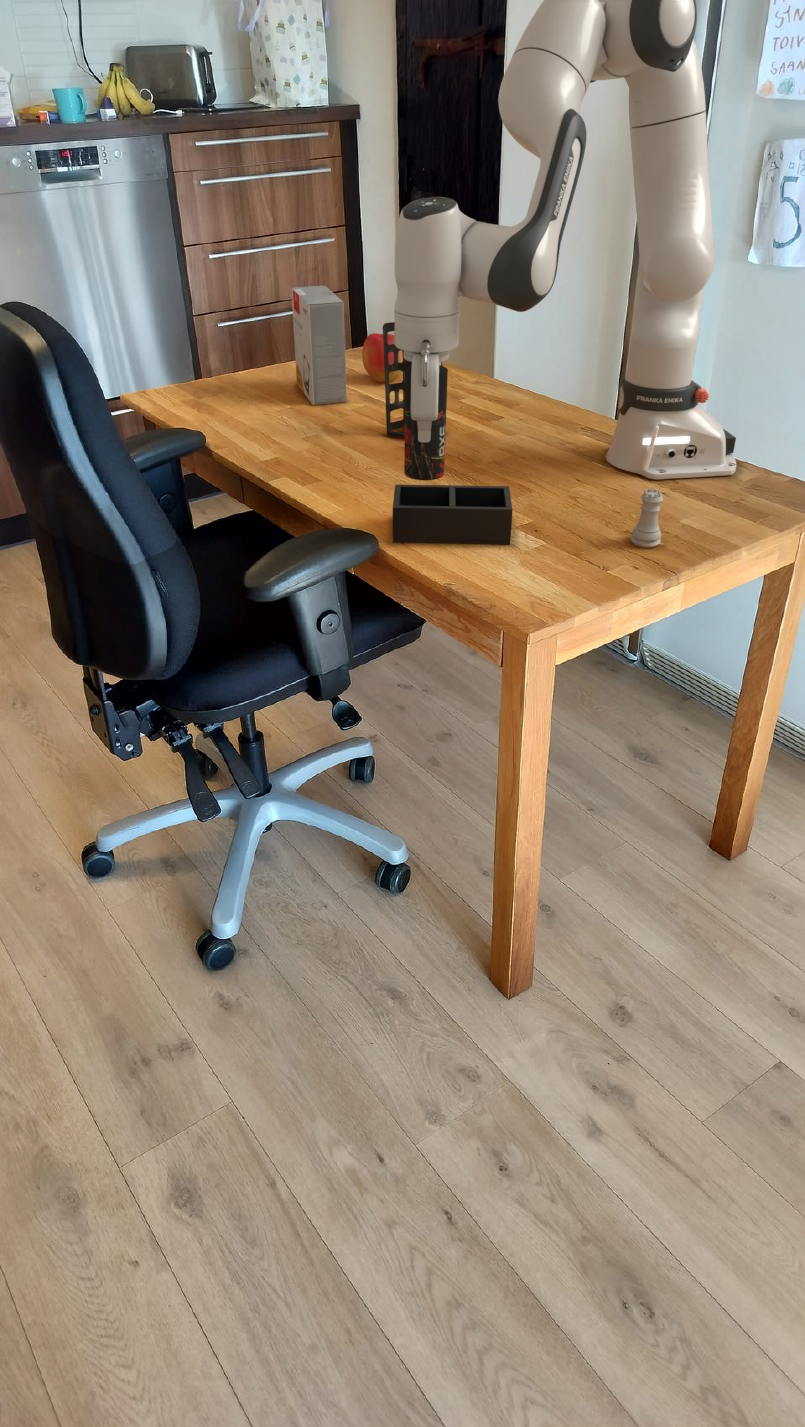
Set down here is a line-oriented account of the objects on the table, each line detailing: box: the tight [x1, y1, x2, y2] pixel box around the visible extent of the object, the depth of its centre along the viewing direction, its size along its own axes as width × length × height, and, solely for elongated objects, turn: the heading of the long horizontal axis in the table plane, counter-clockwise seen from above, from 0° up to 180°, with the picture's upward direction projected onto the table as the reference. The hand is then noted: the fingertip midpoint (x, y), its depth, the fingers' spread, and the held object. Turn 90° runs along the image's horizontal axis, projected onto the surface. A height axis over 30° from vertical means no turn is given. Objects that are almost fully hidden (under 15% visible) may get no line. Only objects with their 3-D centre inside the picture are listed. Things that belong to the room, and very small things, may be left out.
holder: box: [382, 321, 443, 438], centre depth 185 cm, size 11×8×20 cm
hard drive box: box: [290, 285, 348, 406], centre depth 205 cm, size 16×8×20 cm, turn 17°
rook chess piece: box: [630, 488, 664, 549], centre depth 146 cm, size 4×4×8 cm
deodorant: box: [403, 365, 449, 481], centre depth 143 cm, size 6×6×15 cm
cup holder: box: [392, 483, 514, 546], centre depth 150 cm, size 9×18×6 cm, turn 88°
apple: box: [361, 332, 403, 384], centre depth 215 cm, size 10×10×10 cm
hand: (424, 432), depth 143 cm, fingers closed on deodorant, 6 cm apart
